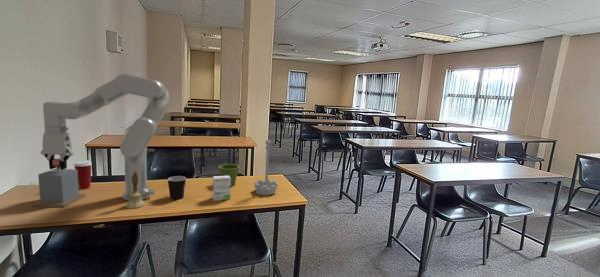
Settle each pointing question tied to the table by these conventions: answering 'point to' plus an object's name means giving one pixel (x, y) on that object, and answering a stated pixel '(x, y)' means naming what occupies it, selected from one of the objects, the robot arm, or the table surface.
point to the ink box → (221, 187)
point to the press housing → (58, 188)
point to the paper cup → (83, 174)
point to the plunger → (56, 164)
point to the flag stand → (266, 178)
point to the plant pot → (229, 171)
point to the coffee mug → (176, 187)
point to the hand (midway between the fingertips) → (58, 168)
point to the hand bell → (135, 195)
